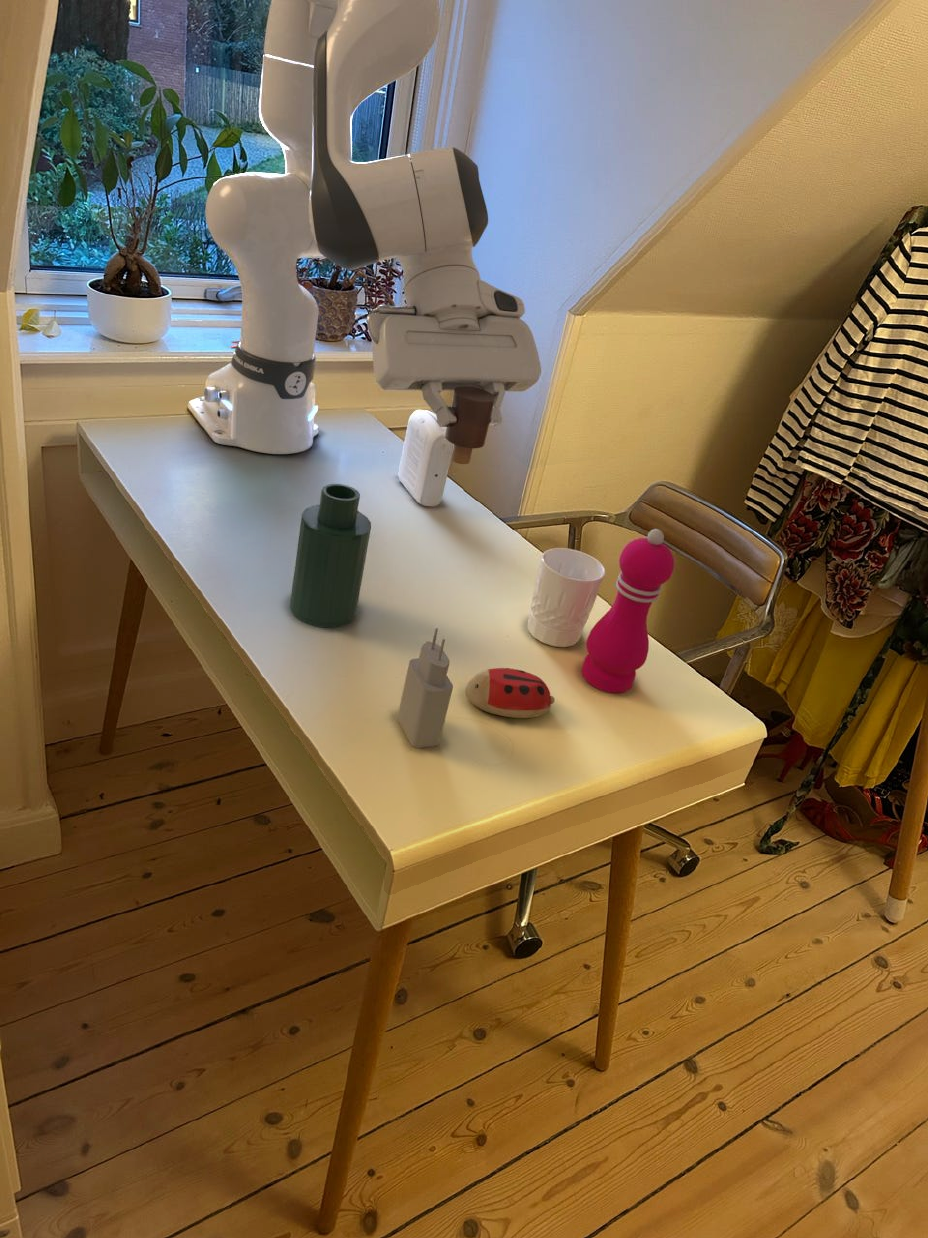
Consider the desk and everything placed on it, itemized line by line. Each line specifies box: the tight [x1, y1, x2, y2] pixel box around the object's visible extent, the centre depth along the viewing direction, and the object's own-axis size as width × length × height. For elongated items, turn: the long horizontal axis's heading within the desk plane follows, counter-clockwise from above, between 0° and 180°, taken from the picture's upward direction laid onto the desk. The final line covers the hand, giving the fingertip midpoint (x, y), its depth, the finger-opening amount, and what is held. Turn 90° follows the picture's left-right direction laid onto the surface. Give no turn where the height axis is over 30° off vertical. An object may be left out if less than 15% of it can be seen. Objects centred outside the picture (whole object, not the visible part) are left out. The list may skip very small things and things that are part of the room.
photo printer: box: [397, 409, 454, 507], centre depth 146 cm, size 10×4×12 cm, turn 25°
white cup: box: [527, 547, 606, 648], centre depth 119 cm, size 8×8×10 cm
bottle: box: [289, 483, 372, 629], centre depth 111 cm, size 8×8×16 cm
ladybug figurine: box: [464, 667, 555, 719], centre depth 106 cm, size 7×10×4 cm
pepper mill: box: [581, 528, 675, 694], centre depth 110 cm, size 7×7×20 cm
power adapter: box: [397, 627, 454, 749], centre depth 97 cm, size 3×5×12 cm, turn 23°
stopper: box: [445, 386, 495, 465], centre depth 109 cm, size 5×5×8 cm
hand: (471, 424), depth 108 cm, fingers closed on stopper, 4 cm apart
